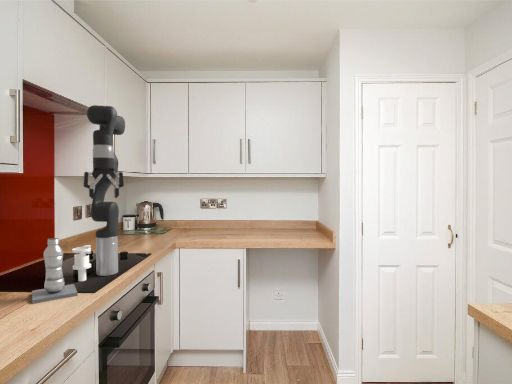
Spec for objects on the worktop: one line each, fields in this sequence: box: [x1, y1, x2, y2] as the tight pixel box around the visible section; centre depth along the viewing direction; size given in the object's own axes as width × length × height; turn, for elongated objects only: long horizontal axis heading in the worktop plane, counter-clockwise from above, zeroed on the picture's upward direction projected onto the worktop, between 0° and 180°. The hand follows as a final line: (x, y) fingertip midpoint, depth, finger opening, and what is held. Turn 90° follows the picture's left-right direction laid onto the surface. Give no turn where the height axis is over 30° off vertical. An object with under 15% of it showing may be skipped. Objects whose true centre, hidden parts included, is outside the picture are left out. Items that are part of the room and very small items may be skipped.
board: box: [31, 283, 78, 304], centre depth 124 cm, size 12×14×1 cm
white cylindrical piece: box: [71, 244, 92, 282], centre depth 141 cm, size 7×7×15 cm
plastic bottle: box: [42, 237, 66, 292], centre depth 123 cm, size 6×7×20 cm
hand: (104, 198), depth 129 cm, fingers open, 8 cm apart
